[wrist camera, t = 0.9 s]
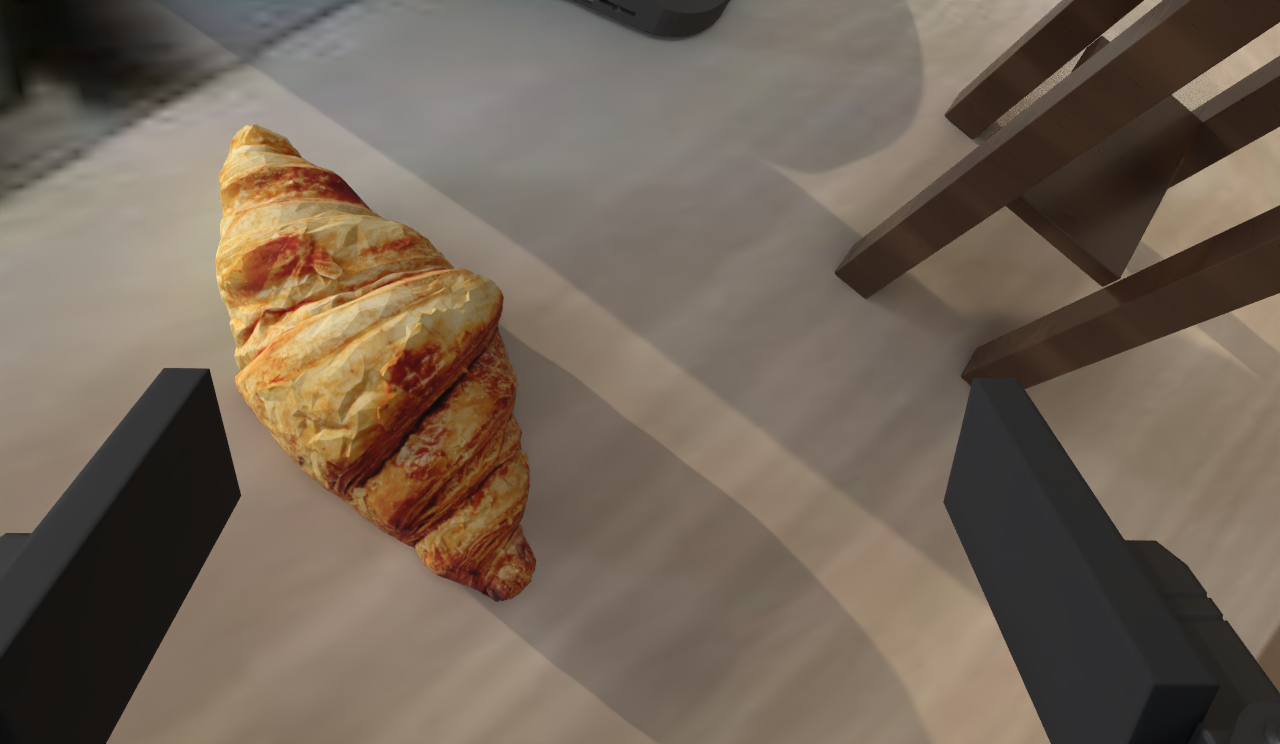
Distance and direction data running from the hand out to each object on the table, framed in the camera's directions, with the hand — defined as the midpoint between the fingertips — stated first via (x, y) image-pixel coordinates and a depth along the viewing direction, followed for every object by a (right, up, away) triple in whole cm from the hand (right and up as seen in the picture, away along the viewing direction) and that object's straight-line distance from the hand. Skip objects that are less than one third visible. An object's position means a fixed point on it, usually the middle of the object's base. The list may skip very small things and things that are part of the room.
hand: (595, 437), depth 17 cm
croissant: (-10, +1, +22) cm, 24 cm away
